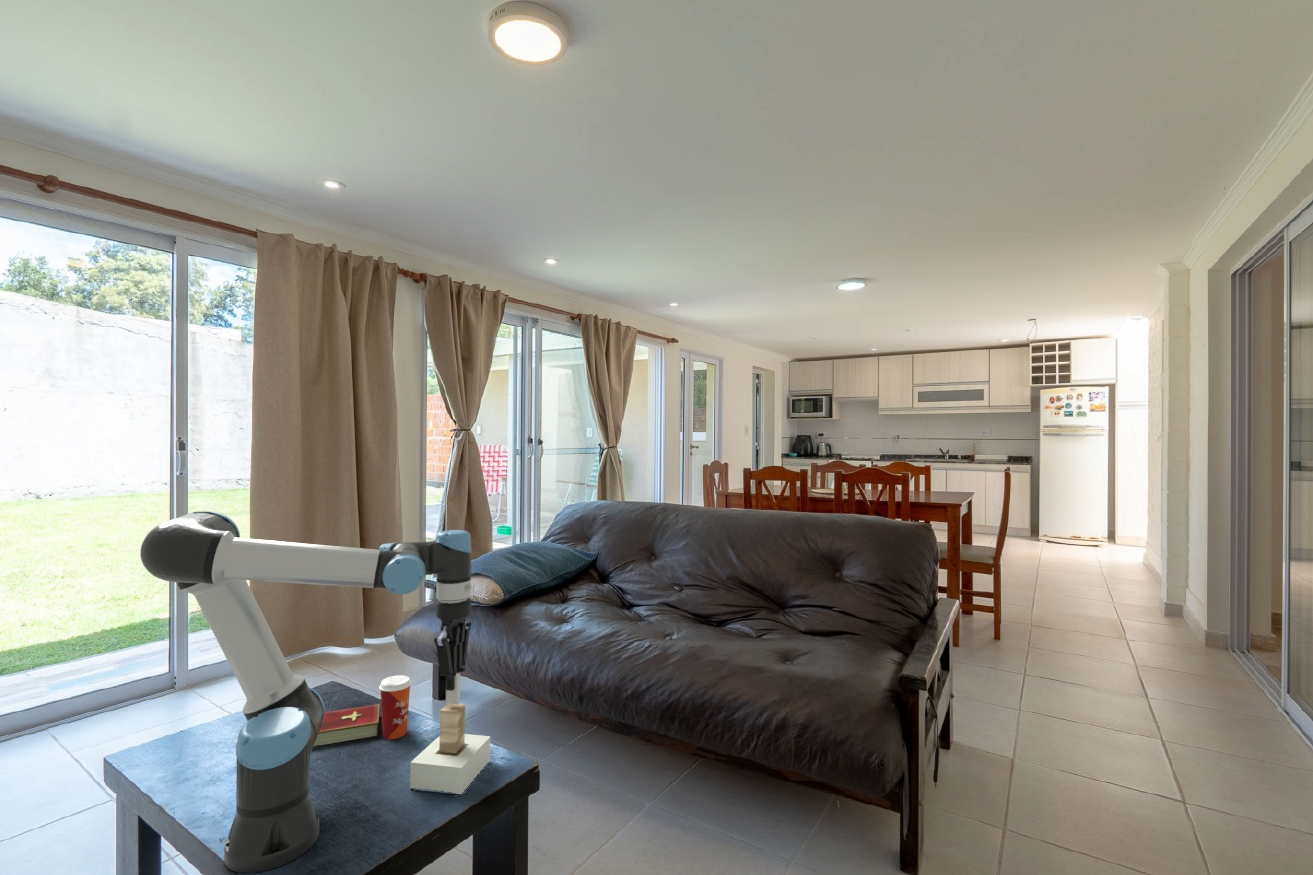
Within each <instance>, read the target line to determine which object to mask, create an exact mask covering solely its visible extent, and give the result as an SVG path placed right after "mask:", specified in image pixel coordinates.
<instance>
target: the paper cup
mask: <svg viewBox="0 0 1313 875" xmlns="http://www.w3.org/2000/svg"><path fill="white" fill-rule="evenodd" d="M411 685H412V681H411V678H410V677H409V676H407V675H403V674H401V675H392V676H388V677H386V678H384V679H382V680H381V682H380V685H379V688H378V689H379V690H380V703H381V704H380V708H381V723H382V735H383V739H385V740H398V739H401V738H402V736H403V737H405V735H406V734H407V731H408V722H409V719H408V718H409V707H410V705H409V704H410V692H411V690H410V689H411ZM400 737H401V738H400ZM397 738H398V739H397Z"/></svg>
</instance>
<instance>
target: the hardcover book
mask: <svg viewBox="0 0 1313 875" xmlns="http://www.w3.org/2000/svg"><path fill="white" fill-rule="evenodd" d="M380 708H381V704H380V703H378V704H372V705H365V706H360V707H359V706H358V707H351V708H345V709H339V710H333V711H332V710H331V711H326V712H325V711H324V720H323V724H322V726H321V729H320V731H319V733H318V736H317V738H316V741H315V743H314V746H313V747H316V746H317V745H318V746H323V745H328V744H335V743H341V742H346V741H352V740H357V739H364V738H370V737H371V738H372V737H376V736H378V725H379V720H380V716H381V715H380V712H381V711H380V710H381V709H380Z"/></svg>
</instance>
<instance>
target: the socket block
mask: <svg viewBox="0 0 1313 875" xmlns="http://www.w3.org/2000/svg"><path fill="white" fill-rule="evenodd" d="M439 746H440V735H439V736H437V737H436V738H435V739H434V740H433V741H432V742H431V743H430V744H429V745H428V746H426V748H424V749H423V750H422V751H421V752H420V753H419V754H418V755H417V756H416V757H414V759H412V761H411V762H410V766H409V767H410V769H409V770H410V776H409V777H410V784H409V789H410V788H416V789H419V788H420V789H429V790H437V791H444V792H452V793H456V794H462V793H463V792H464V790H465V789H466V788H467V787H468V786H469V785H470V783H471V782H472V781H473V779H474V778H475V777H476V776H477V774H479V773H480V771H481V770H482V769H483V767H484V766H485V765H486V764H487V763H488V762H489V761H490V762H491V736H490V735H479V734H468V733H465V749H464V750H463V751H462V752H461V753H460V754H459V755H458V756H450V755H441V754H439ZM490 762H489V763H490ZM480 774H481V773H480ZM480 774H479V775H480ZM473 782H474V781H473ZM470 786H471V785H470ZM470 786H469V787H470ZM469 787H468V788H469ZM464 793H465V792H464ZM464 793H463V794H464Z"/></svg>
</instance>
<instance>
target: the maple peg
mask: <svg viewBox="0 0 1313 875" xmlns="http://www.w3.org/2000/svg"><path fill="white" fill-rule="evenodd" d="M465 717H466V704H465V703H458V704H449V703H446V704H445V705H444V706H443V707H442V708H440V709H439V736H440V746H439V754H441V755H450V756H458V755H459V754H460V753H461V752H462V751H463V750H464V749H465V734H466V733H465V732H466V731H465V730H466V729H465V728H466V725H465V724H466V720H465V719H466V718H465Z"/></svg>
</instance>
